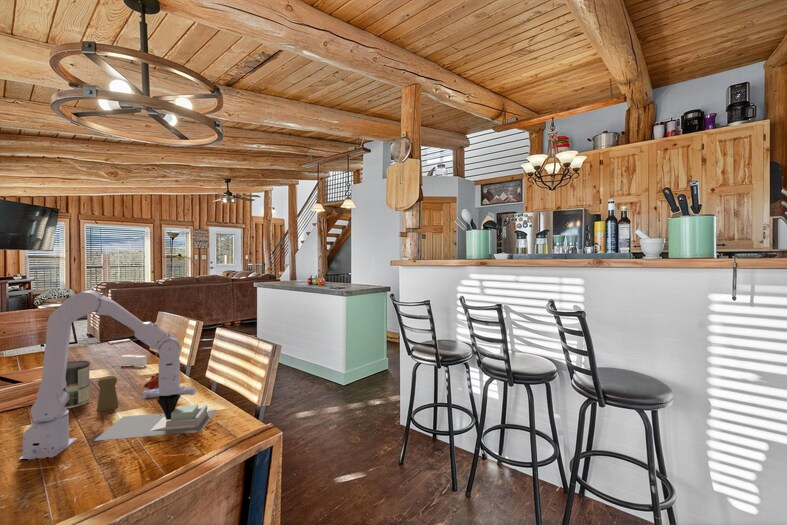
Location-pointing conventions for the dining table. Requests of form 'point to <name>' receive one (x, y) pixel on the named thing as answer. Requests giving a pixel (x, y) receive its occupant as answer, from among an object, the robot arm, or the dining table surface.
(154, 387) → the dragon fruit
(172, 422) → the dock
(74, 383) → the coffee can
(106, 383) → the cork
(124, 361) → the napkin holder
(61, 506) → the dining table surface
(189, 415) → the cart
